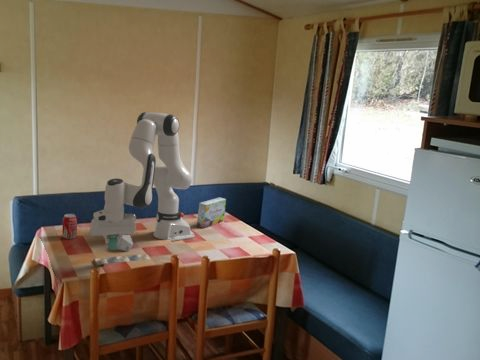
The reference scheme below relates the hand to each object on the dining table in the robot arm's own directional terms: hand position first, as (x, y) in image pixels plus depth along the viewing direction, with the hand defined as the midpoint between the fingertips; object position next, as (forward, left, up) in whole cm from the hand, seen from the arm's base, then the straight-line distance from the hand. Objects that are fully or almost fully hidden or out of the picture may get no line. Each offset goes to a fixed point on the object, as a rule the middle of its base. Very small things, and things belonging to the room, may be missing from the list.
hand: (112, 243), depth 218 cm
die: (-8, -13, -10) cm, 18 cm away
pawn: (0, 0, -3) cm, 3 cm away
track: (-5, 0, -10) cm, 11 cm away
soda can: (+14, -37, -10) cm, 41 cm away
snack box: (-69, -43, -10) cm, 82 cm away
